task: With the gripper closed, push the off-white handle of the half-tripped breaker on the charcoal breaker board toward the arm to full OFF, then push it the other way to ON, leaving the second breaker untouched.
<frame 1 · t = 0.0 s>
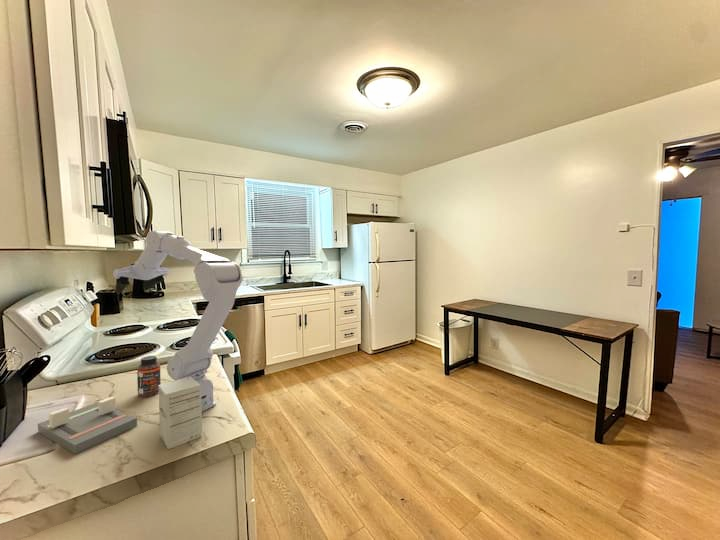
hand: (131, 289, 95), 32 cm above the worktop, tool tilted 50°, fingers open, 7 cm apart
second breaker: (59, 417, 71), point 4 cm above the worktop, slide at 6.5 cm
breaker board: (88, 428, 74), on the worktop
supplement bottle: (149, 393, 93), on the worktop
supplement box: (181, 437, 70), on the worktop
tripped breaker: (107, 405, 77), point 4 cm above the worktop, slide at 3.0 cm
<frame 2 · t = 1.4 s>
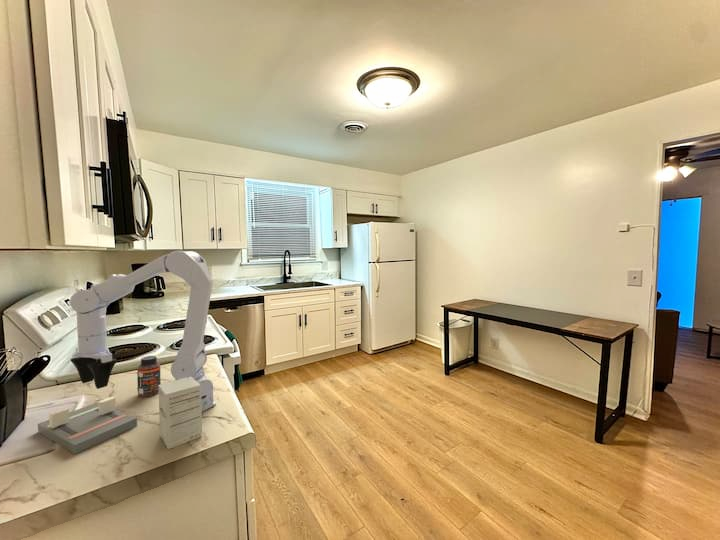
hand: (94, 384, 80), 8 cm above the worktop, tool pointing down, fingers open, 7 cm apart
nothing on the worktop moved.
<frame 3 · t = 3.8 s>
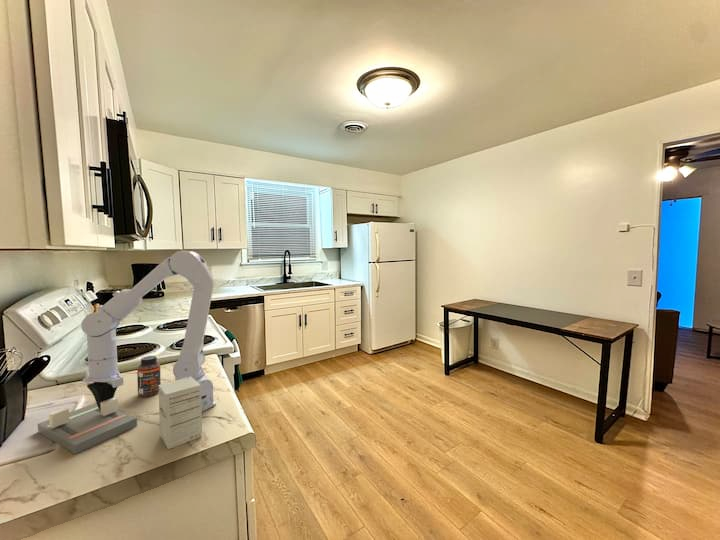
hand: (105, 408, 78), 3 cm above the worktop, tool pointing down, fingers closed
tripped breaker: (109, 406, 77), point 4 cm above the worktop, slide at 1.9 cm, touching gripper
everything else where it was.
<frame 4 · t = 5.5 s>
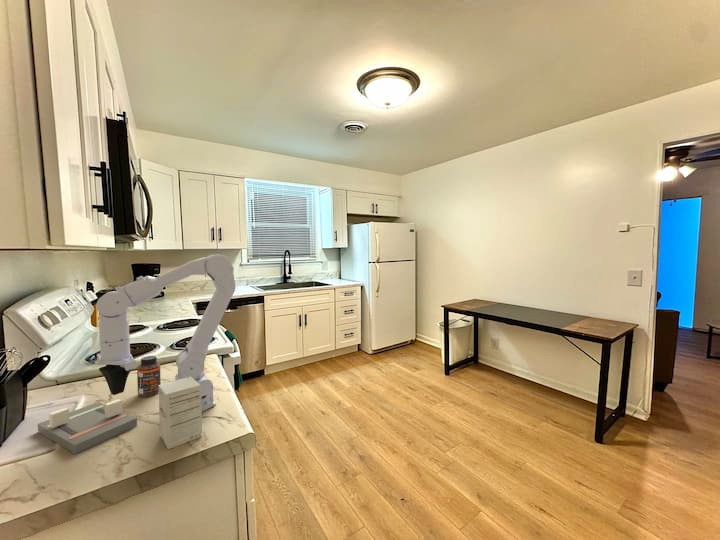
hand: (117, 393, 75), 8 cm above the worktop, tool pointing down, fingers closed
tripped breaker: (113, 408, 76), point 4 cm above the worktop, slide at -0.1 cm
everything else where it was.
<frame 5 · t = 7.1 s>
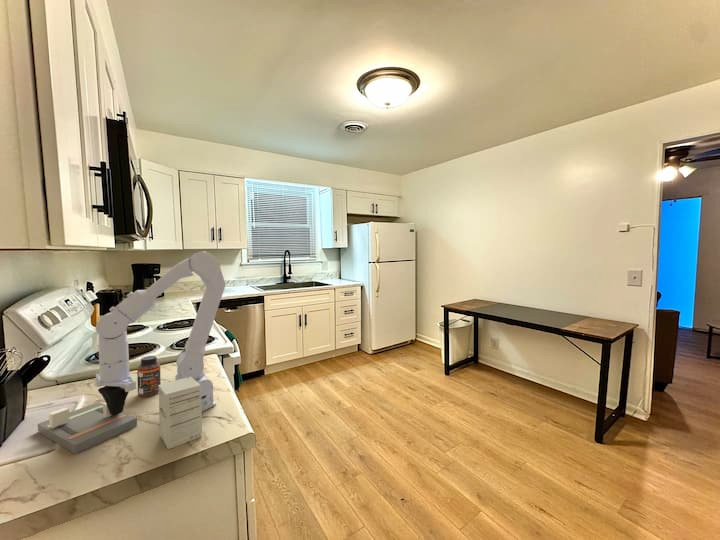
hand: (116, 413, 75), 3 cm above the worktop, tool pointing down, fingers closed
tripped breaker: (111, 407, 76), point 4 cm above the worktop, slide at 0.6 cm, touching gripper
everything else where it was.
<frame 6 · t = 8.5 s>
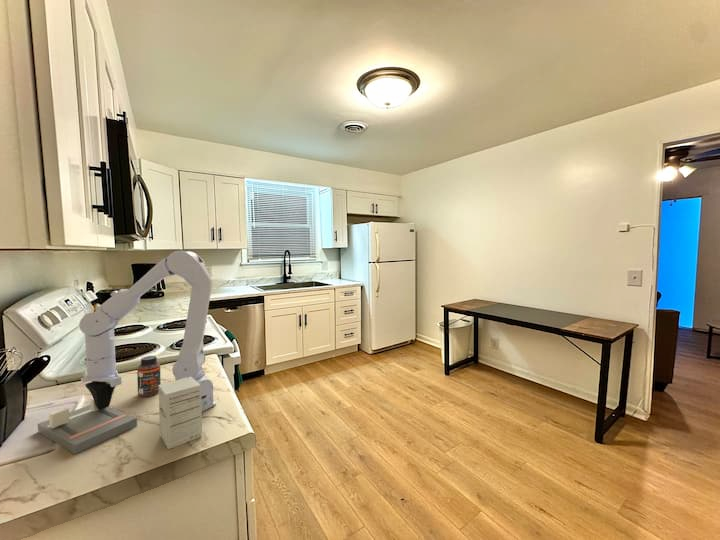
hand: (103, 407, 78), 3 cm above the worktop, tool pointing down, fingers closed
tripped breaker: (99, 402, 79), point 4 cm above the worktop, slide at 7.1 cm, touching gripper
everything else where it was.
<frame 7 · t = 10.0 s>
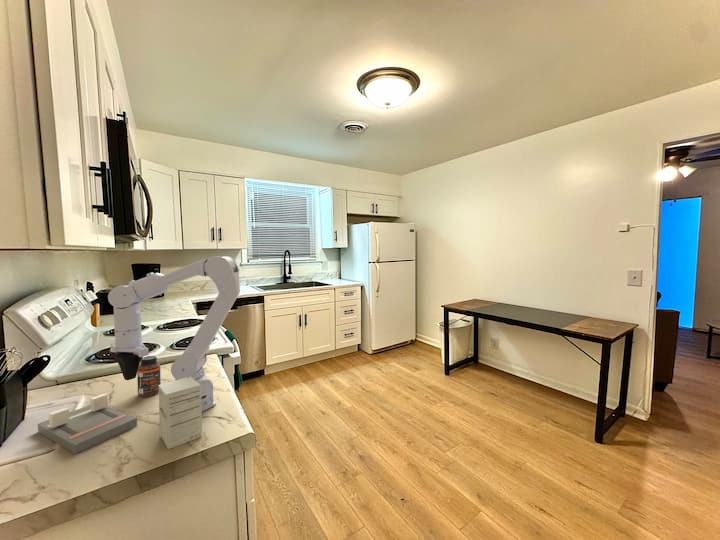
hand: (130, 378, 81), 9 cm above the worktop, tool pointing down, fingers closed
tripped breaker: (99, 402, 79), point 4 cm above the worktop, slide at 7.1 cm
everything else where it was.
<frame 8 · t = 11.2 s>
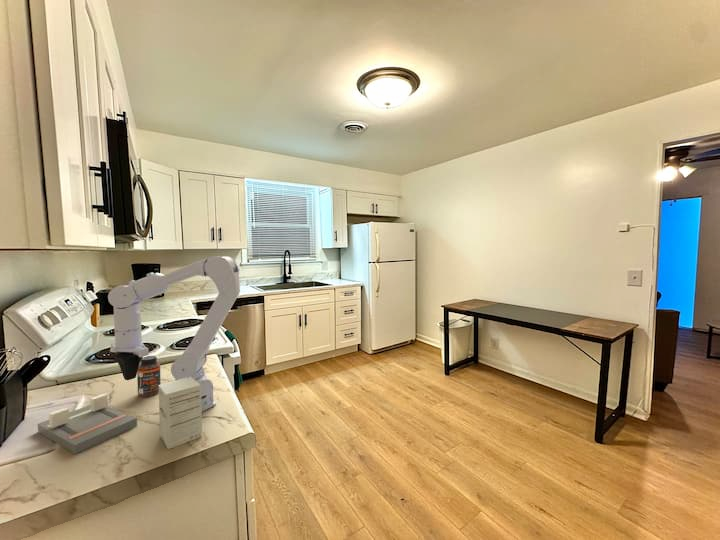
hand: (130, 378, 81), 9 cm above the worktop, tool pointing down, fingers closed
nothing on the worktop moved.
at the end: tripped breaker slide at 7.1 cm; second breaker slide at 6.5 cm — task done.
